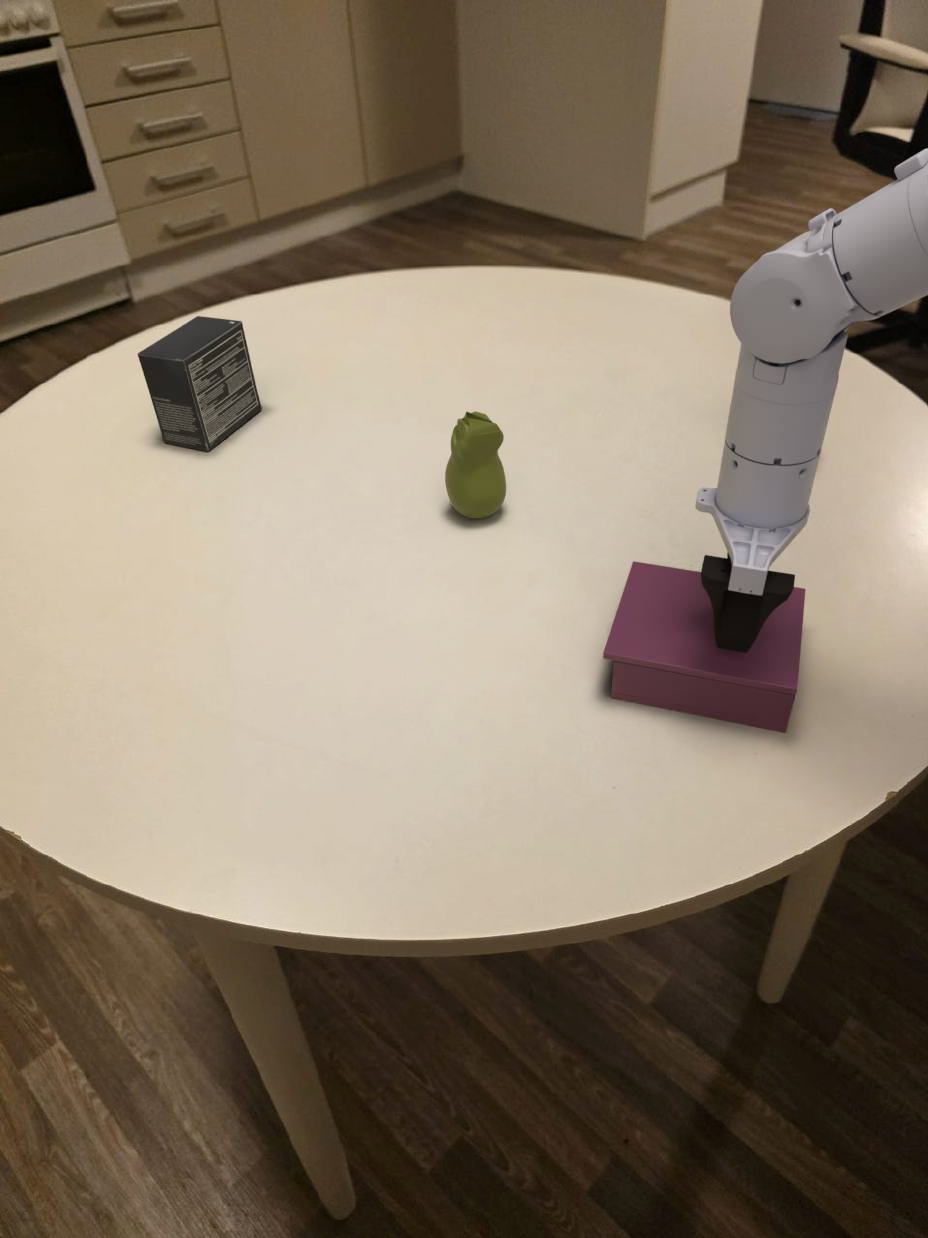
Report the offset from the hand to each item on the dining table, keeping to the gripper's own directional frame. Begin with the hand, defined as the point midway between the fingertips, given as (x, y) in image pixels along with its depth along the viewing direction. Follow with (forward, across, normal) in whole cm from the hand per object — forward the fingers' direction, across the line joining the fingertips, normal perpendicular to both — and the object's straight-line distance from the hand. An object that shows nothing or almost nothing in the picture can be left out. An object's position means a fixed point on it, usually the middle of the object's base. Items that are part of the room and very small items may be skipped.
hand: (738, 612), depth 64 cm
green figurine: (+6, -15, -24) cm, 29 cm away
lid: (+2, 0, -2) cm, 3 cm away
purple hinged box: (+5, 0, -2) cm, 6 cm away
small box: (+6, -24, -58) cm, 63 cm away
